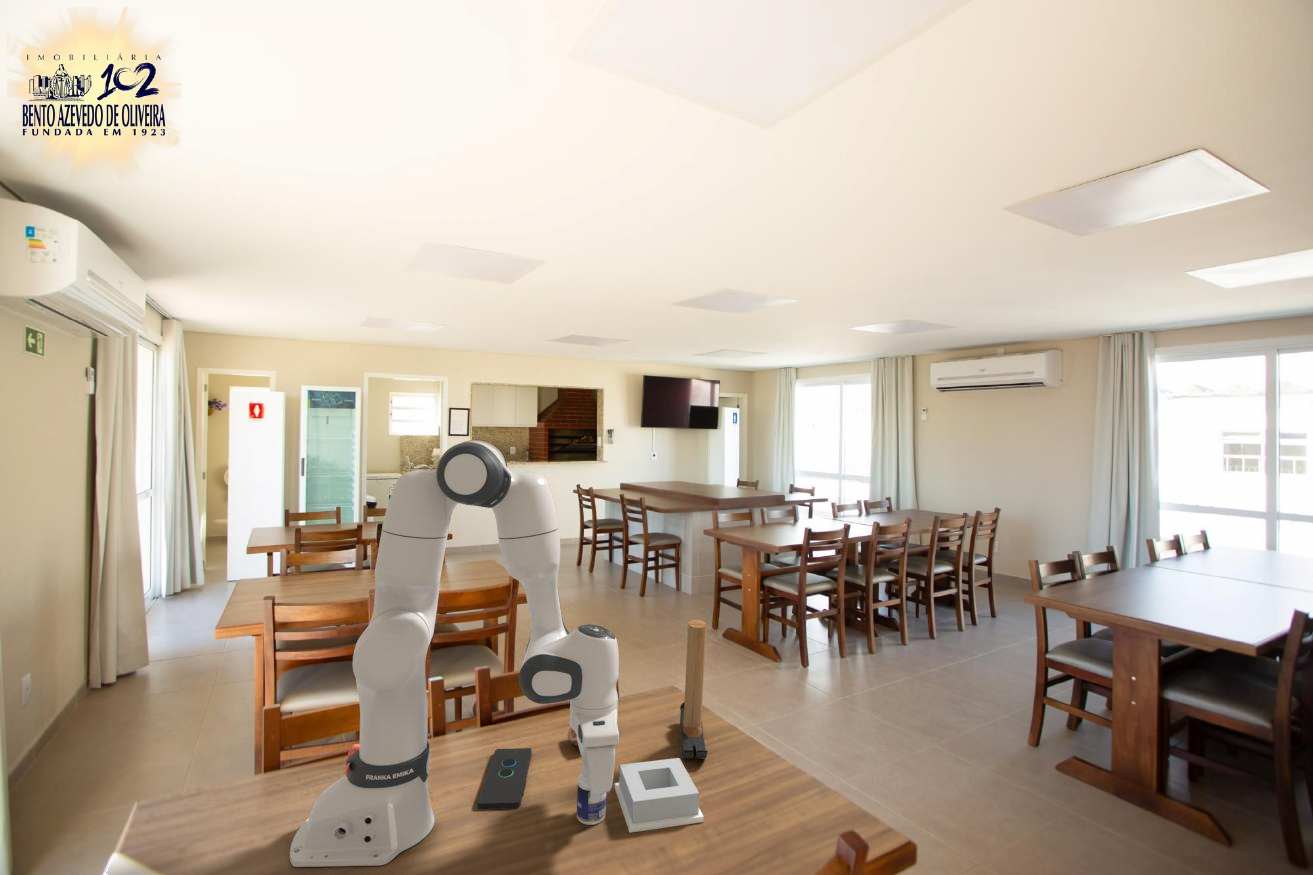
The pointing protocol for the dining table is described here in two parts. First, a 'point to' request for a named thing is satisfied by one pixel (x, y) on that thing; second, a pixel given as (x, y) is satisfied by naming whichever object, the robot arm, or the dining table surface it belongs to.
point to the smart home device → (505, 779)
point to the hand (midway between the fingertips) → (591, 789)
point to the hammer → (694, 693)
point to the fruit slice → (572, 737)
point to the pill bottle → (589, 803)
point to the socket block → (657, 795)
